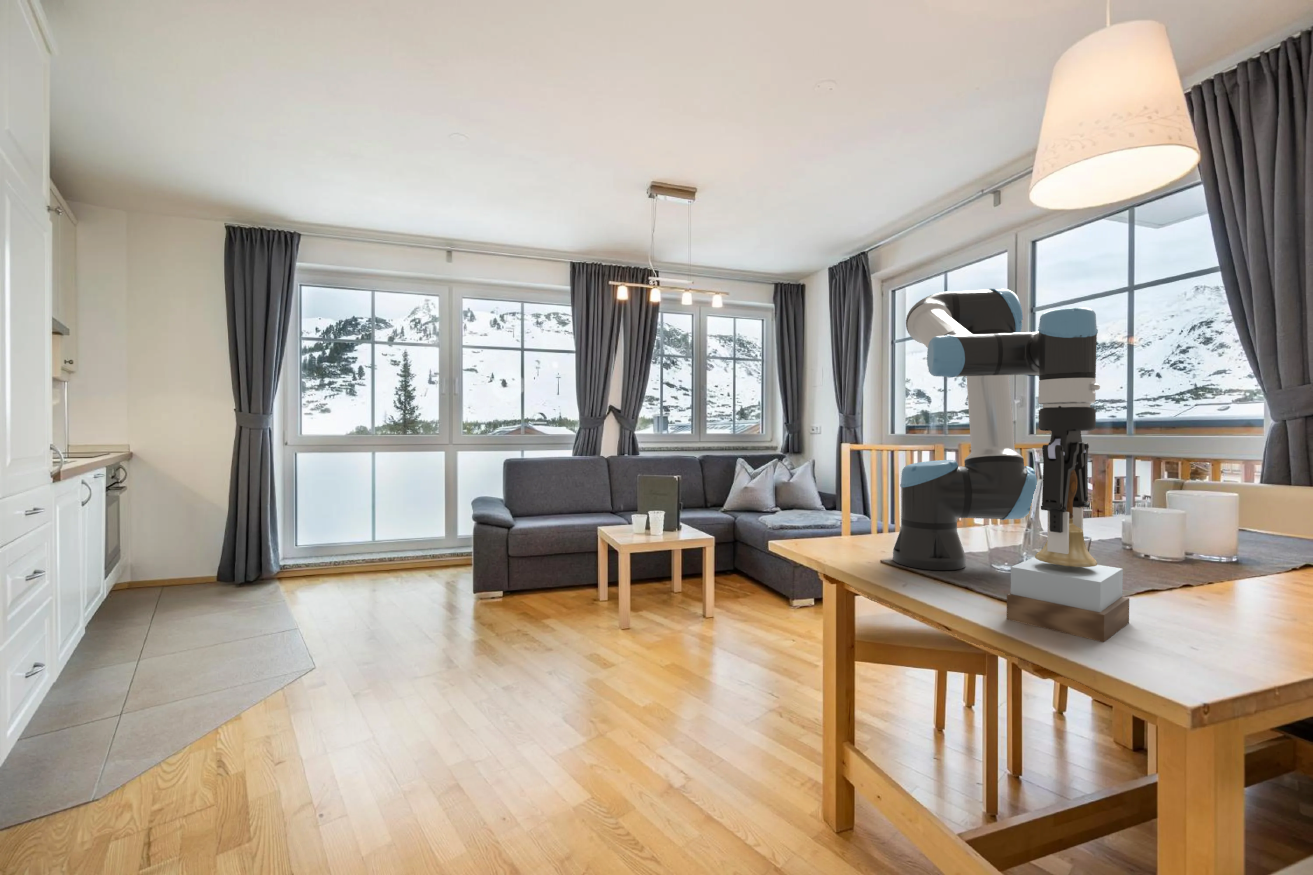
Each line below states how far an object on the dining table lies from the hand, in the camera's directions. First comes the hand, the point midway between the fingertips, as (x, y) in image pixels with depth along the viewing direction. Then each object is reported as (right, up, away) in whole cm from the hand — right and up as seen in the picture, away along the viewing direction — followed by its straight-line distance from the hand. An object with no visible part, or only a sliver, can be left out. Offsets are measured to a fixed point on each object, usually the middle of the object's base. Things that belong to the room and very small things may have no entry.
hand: (1065, 548), depth 94 cm
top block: (0, -8, 0) cm, 8 cm away
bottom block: (0, -12, 0) cm, 12 cm away
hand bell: (0, -2, 0) cm, 2 cm away
